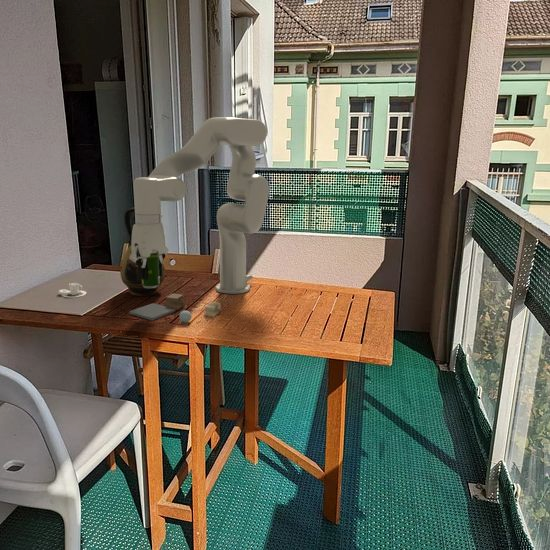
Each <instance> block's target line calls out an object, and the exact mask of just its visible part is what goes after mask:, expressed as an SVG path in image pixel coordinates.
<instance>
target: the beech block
mask: <svg viewBox="0 0 550 550" xmlns="http://www.w3.org/2000/svg"><path fill="white" fill-rule="evenodd" d="M220 312H221V302H215V301H211V302H210V303H208V304H207V305H205V306H204V314H205V316H209V317H215V316H217V315H218V314H219V313H220Z"/></svg>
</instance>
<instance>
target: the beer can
mask: <svg viewBox="0 0 550 550" xmlns="http://www.w3.org/2000/svg"><path fill="white" fill-rule="evenodd" d="M141 262H142V259H141ZM145 267H146V268H147V280H142V285H143V287H144V288H156V287H158V286H159V284H160V274H159V252H158V251H157V249H155V250H152V252H151V254H150V257H148V258H147V261H146V266H145ZM160 285H161V284H160ZM159 287H160V286H159ZM159 287H158V288H159Z"/></svg>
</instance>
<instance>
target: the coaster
mask: <svg viewBox="0 0 550 550" xmlns="http://www.w3.org/2000/svg"><path fill="white" fill-rule="evenodd" d="M175 312H176V310H175V309H173V308H169V307H167V305H166V306H165V305H162V304H158V303H153V302H152V303H150V304H146V305H143V306H141V307H138V308H135V309H132V310H129V311H128V314H129V315H132V316H137V317H139V318H143V319H146V320H149V321H154V320H158V319H159V318H162V317H164V316H168V315H170V314H173V313H175Z"/></svg>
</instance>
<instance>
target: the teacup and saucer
mask: <svg viewBox="0 0 550 550" xmlns="http://www.w3.org/2000/svg"><path fill="white" fill-rule="evenodd" d="M68 287H69V288H68V289H58V294H59V295H60V296H62V297H64V298H69V299H70V298H71V299H73V298H78V297H79V298H80V297H83V296H86V294H87V291H85V290H82V289H83V286H82V285H81V284H79V283H78V282H70V283H68ZM79 289H80V290H79ZM79 293H82V294H81V295H80V294H79ZM78 294H79V295H78ZM69 295H71V296H69Z"/></svg>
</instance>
